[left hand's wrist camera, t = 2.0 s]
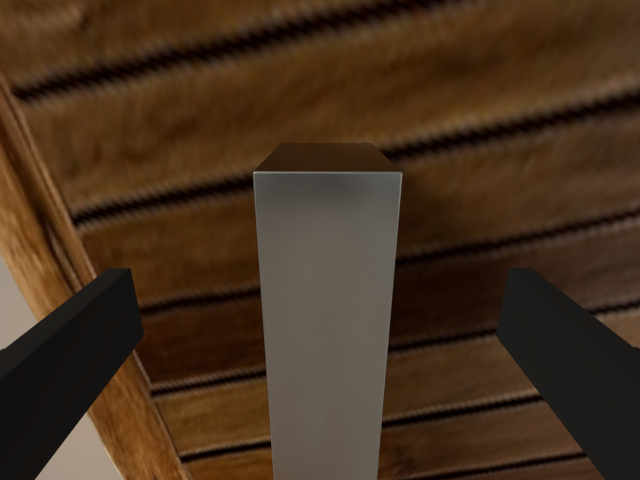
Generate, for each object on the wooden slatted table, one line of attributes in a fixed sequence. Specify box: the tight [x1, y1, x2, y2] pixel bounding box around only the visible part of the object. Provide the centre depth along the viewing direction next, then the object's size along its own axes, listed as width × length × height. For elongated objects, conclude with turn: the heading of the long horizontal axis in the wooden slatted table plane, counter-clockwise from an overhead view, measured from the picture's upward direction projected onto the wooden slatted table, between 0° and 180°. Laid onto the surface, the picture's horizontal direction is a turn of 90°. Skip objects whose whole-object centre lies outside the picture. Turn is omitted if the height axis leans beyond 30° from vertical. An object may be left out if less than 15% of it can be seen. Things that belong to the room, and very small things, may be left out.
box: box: [253, 143, 403, 480], centre depth 24 cm, size 23×6×10 cm, turn 0°
